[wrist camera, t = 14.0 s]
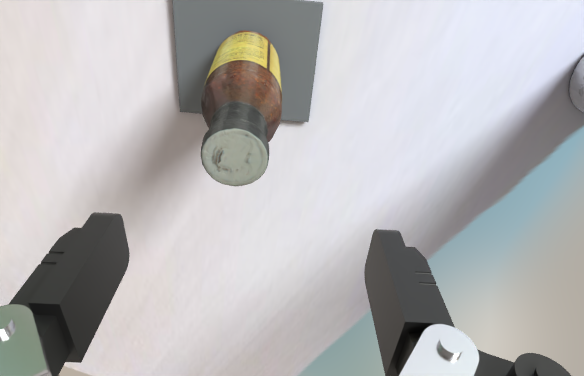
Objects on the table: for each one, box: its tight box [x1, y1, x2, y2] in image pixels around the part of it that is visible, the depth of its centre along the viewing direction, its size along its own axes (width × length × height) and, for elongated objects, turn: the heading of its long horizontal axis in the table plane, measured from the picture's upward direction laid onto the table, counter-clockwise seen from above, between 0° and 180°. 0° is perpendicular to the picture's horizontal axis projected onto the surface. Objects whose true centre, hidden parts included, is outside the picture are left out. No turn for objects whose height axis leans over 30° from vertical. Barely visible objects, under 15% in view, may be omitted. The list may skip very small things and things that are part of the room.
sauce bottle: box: [201, 30, 282, 186], centre depth 31 cm, size 7×6×20 cm
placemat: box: [173, 0, 323, 122], centre depth 39 cm, size 14×12×1 cm
